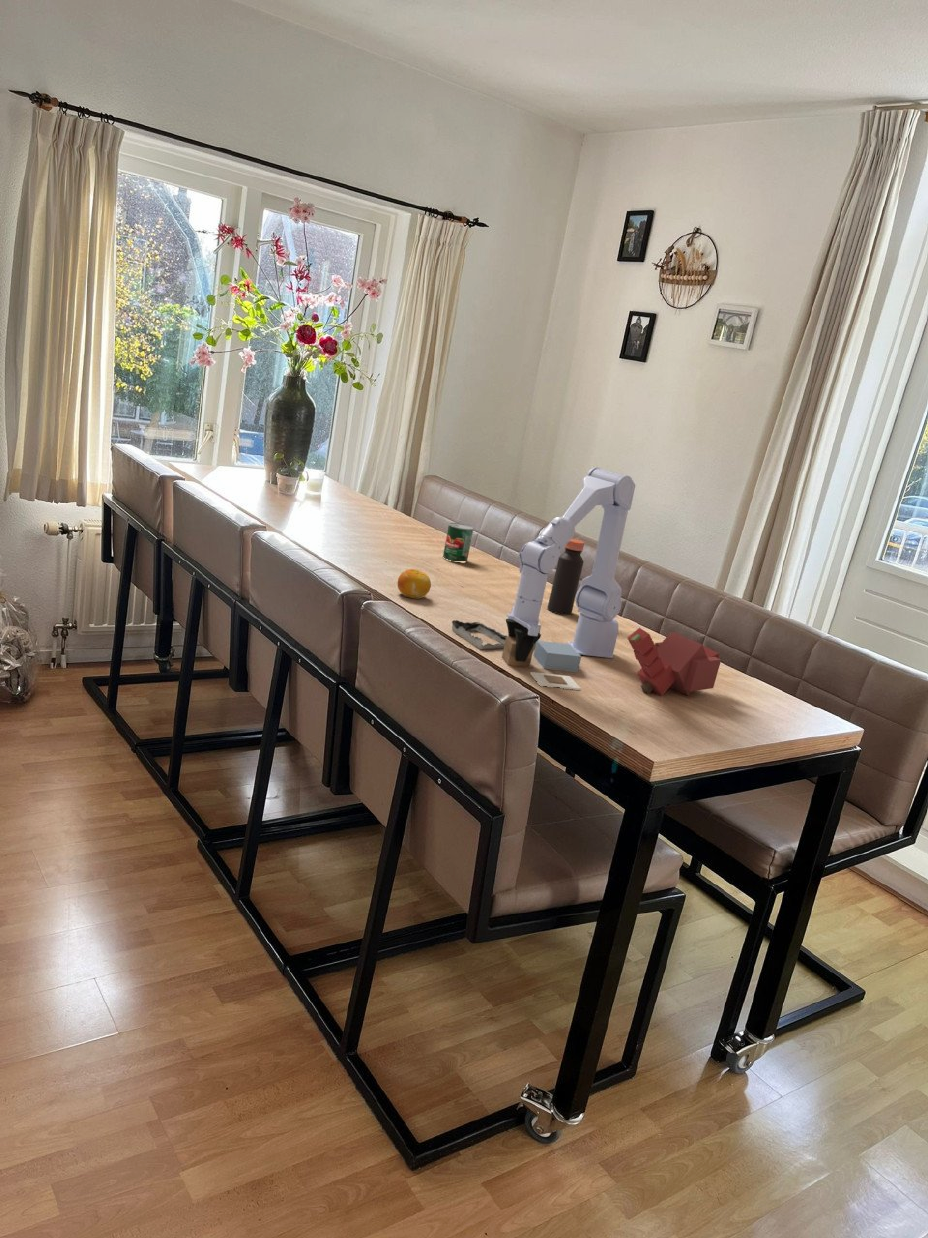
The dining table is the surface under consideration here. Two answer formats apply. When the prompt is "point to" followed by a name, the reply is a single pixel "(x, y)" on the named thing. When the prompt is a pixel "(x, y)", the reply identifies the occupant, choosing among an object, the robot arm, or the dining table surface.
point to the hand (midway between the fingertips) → (516, 656)
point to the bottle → (566, 578)
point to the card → (555, 681)
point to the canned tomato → (458, 542)
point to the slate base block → (557, 656)
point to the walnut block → (510, 653)
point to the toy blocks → (674, 663)
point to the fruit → (414, 583)
